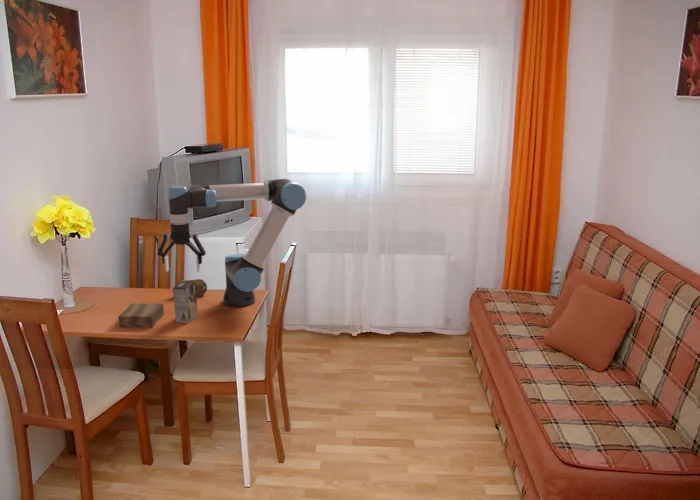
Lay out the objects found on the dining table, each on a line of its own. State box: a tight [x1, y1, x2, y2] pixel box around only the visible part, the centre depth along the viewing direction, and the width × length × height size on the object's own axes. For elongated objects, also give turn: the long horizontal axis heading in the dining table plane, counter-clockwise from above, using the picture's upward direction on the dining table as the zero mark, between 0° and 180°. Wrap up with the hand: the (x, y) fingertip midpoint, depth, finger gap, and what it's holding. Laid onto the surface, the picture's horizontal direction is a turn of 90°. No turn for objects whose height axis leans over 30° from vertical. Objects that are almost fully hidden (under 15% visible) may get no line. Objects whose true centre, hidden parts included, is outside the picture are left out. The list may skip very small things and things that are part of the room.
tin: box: [176, 278, 208, 297], centre depth 290 cm, size 15×3×8 cm, turn 101°
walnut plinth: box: [117, 302, 165, 329], centre depth 258 cm, size 14×16×5 cm
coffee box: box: [172, 281, 199, 324], centre depth 259 cm, size 9×6×16 cm
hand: (182, 271), depth 255 cm, fingers open, 13 cm apart
